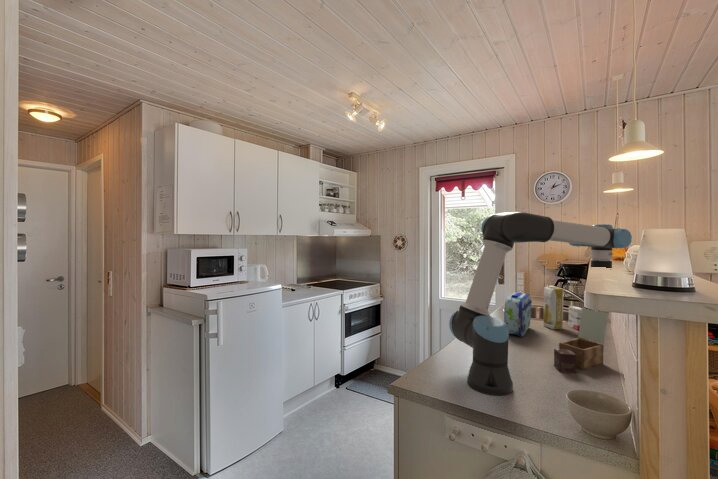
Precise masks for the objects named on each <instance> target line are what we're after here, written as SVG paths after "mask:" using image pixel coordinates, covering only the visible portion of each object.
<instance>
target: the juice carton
mask: <svg viewBox="0 0 718 479" xmlns="http://www.w3.org/2000/svg"><path fill="white" fill-rule="evenodd" d="M564 291H565V290H564V288H558V287H556V286H554V285H548V286H544V290H543V326H544V327H546V328H548V329H551V330H562V329H563V328H564V326H563V324H564V298H565V297H564V294H565V293H564Z"/></svg>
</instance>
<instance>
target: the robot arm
mask: <svg viewBox="0 0 718 479" xmlns="http://www.w3.org/2000/svg"><path fill="white" fill-rule="evenodd" d="M480 229H481V230H480V232H481V233H482V234H481V236H482V244H483V246H484V247H483V250H482V252H481V255H480V259H479V262H478V264H477V267H476V270H475V274H474V276H473V279H472V283H471V286H470V289H469V292H468V293H467V298H466V300H465V302H463V303H461V304H460V305H459V309H458V310H456V311H455V312H453V313H452V314H451V316H450V318H449V322H448V324H449V326H448V327H449V330H450V332H451V334H452V335H453V337H455V338H456V339H457V340H458V342H459V341H460V342H462V343H463V344H466V345H467V346H468V347H470V348H472V363H471V365H470V366H469V370H468V373H467V377H466V378H467V380H466V382H467V385H468V386H469V387H470V388H472V389H473V390H475V391H477V392H479V393H482V394H485V395H486V394H487V395H491V396H503V395H508V394H511V393H512V392H513V389H514V382H513V379H512V376H511V373H510V369H509V338H510V334H509V332H508V326H507V324H506V323H505V322H504V320H503V319H501V318H498V317H493V316H491V314H490V313H489V306H490V304H491V300H492V298H493V295H494V291H495V288H496V286H497V283H498V279H499V277H500V274H501V270H502V267H503V264H504V261H505V259H506V255H507V253H509V252H511V251H512V250H513V248H514V245H515V243H516V244H517V243H530V242H531V243H535V242H536V243H547V242H549V241H552V242H560V243H567V244H569V245H570V246H572V247H589V248H590V268H591V267H606V268H612V269H613V261H612V260H613V255H614V253H613V249H625V248H628V247H629V246H630V245H631V243H632V238H633V237H632V233H631V231H630V230H628V229H627V228H620V227H619V228H618V227H617V228H614V227H613V225H612V224H602V223H601V224H598V223H597V224H592V225H590V224H582V223H574V222H568V221H562V220H554V219H553V218H551V217H550V216H546V215H540V214H534V213H531V212H530V213H529V212H524V211H513V212H497V213H493V214H492V213H491V214H490V215H488V216H487V217H485V218H484V220H483V221H482V224H481V227H480Z"/></svg>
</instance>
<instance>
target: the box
mask: <svg viewBox="0 0 718 479" xmlns="http://www.w3.org/2000/svg"><path fill="white" fill-rule="evenodd" d="M553 352H554V353H553V366H554V367H555V368H556V369H557V371H559V372H560V373H561V372H562V373H572V374H576V373H577V368H576V354H575V353H573V352H572V351H571V350H569V349H559V348H554V351H553Z"/></svg>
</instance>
